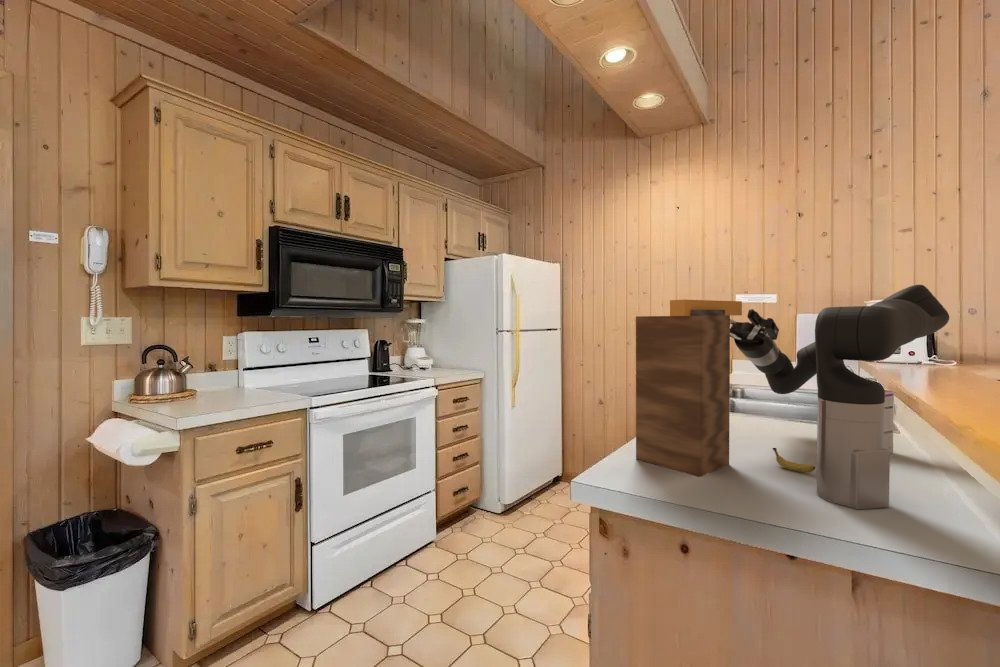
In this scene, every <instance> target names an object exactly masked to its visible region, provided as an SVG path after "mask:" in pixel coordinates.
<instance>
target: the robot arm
mask: <svg viewBox="0 0 1000 667" xmlns="http://www.w3.org/2000/svg"><path fill="white" fill-rule="evenodd" d="M747 319H748V322H747V321H745V322H740V321H736V320H734V319H731V318H730V325H731V326H730V338H733V340H734V342H735V346H736V347H737V348H738V350H740V352H741V354H743V356H745V358H747V360H748V361H750V362H751V363H752V364H753V365H754V367H755V368H756V369H757V370H758V371H759V372H761V373H763V374H764V375H765V377H766V381H767V383H768V385H769V387H770V389H771V391H772V392H774V393H775V394H778V395H788V394H792V393H793V392H796V391H797V390H798V389H800V388H801V387H802V386H804V385H805V384H806V383H807V382H808V381H810V379H812V378H813V377H814V376H816V384H817V385H816V386H817V416H816V417H817V421H816V422H817V423H816V424H817V425H816V428H817V429H816V430H817V431H816V494H817V495H818V497H820V498H822V499H824V500H825V501H828V502H831V503H834V504H837V505H838V504H839V505H843V506H847V507H850V508H852V509H855V510H869V509H878V508H879V509H881V508H883V509H884V508H889V507H890V472H891V470H890V469H891V463H890V462H891V459H890V457H891V453H890V451H889V450H887V449H884V412H885V403H884V402H885V390H886V389H885V388H884V386H883V385H882V384H880V383H878V382H876V381H873V380H870V379H867V378H865V377H862V376H860V375H858V374H856V373H854V372H853V371H852V370H850V369H848V368H847V366H846V365H845V362H844V361H845V360H846V361H861V362H862V361H863V362H879V361H885V360H887V359H889V358H890V357H891V356H892V355H894V354H895V353H896V351H897V350H898V349H899V348H900V347H902V346H904V345H907V344H908V343H912V342H913V341H915V340H916V339H920V338H924V337H927V336H930V335H933V334H935V333H936V332H937V331H940V330H941V329H943V328H944V327H945V326H947V324H948V323H949V321H950V315H949V313H948V311H947V309H946V307H944V306H943V305H942V303H941V302H940V301H939V300H938V299H937V298H936V296H935V295H934V294H933V293H932V292H931V291H930V290H929V288H927V287H926V286H925V285H923V284H915V285H911V286H908V287H906V288H902V289H901V290H899V291H896V292H895V293H893V294H891V295H890V296H887V297H886V298H884V299H883V300H881V301H878V302H875V303H873V304H871V305H866V306H865V305H861V306H860V305H859V306H857V305H855V306H853V305H852V306H828V307H824V308H822V309H821V310H820V311H819V313H817V316H816V320H815V327H814V341H813V342H812V343H810V344H807V345H806V346H804V347H802V348H800V349H799V350H797V352H796V365H795V366H794V365H793V363H792V361H791V359H790V358H789V356H788V355H787V354H785V353H783V352H782V350H781V349H780V348H779V346H778V344H777V343H776V340H777V339H778V336H779V331H780V329H779V327H778V325H777V324H776V322H775V320H774V319H773V318H770V317H767V318H766V319H765V318H764V317H763V316H761V315H760V314H759V313H758V311H756V310H754V308H753V309H751V308H749V309H748V312H747Z"/></svg>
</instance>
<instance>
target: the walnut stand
mask: <svg viewBox="0 0 1000 667" xmlns="http://www.w3.org/2000/svg"><path fill="white" fill-rule="evenodd" d="M730 319H731V315H725V310H691V316H670V315H655V316H654V315H651V316H649V315H648V316H646V315H645V316H643V315H642V316H635V459H636V460H637V459H639V460H638V461H641V460H642V461H641V462H644V461H645V463H648V462H649V464H652V465H655V464H656V466H660V467H662V466H663V468H665V469H666V468H667V469H670V470H674V471H678V472H681V473H684V472H685V474H689V475H692V476H696V477H699V478H700V477H702V475H703V476H705V475H707V473H708V474H710V473H713V472H714V471H717V470H720V469H722V468H724V467H727V466H730V406H731V405H730V402H731V401H730V394H731V393H730V386H731V385H730V384H731V382H730V379H731V378H730V376H731V373H730V371H731V370H730V368H731V367H730V366H731V364H730V363H731V356H730V354H731V353H730V352H731V337H730V328H731V324H730ZM712 471H713V472H712Z"/></svg>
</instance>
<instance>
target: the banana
mask: <svg viewBox="0 0 1000 667" xmlns="http://www.w3.org/2000/svg"><path fill="white" fill-rule="evenodd" d="M772 451H774V453H775V455H776V458H775V460H776V463H778V465H779V466H780V467H782V468H784V469H786V470H790V471H792V470H793V472H796V473H797V472H798V473H812V472H814V471H815V470H816V466H814V465H812V464H808V463H807V464H803V463H797V462H792V461H789V460H788V459H785V458H784V457H782V456H781V455H780V454H779V452H778V450H777V447H772Z"/></svg>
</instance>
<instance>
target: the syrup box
mask: <svg viewBox="0 0 1000 667" xmlns="http://www.w3.org/2000/svg"><path fill="white" fill-rule="evenodd" d="M884 390H885V402H884V403H885V412H884V449H887V450H889V451H890V454H893V453H894V408H895V405H894V404H895V395H894V393H895V392H894V390H887V389H884Z"/></svg>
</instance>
